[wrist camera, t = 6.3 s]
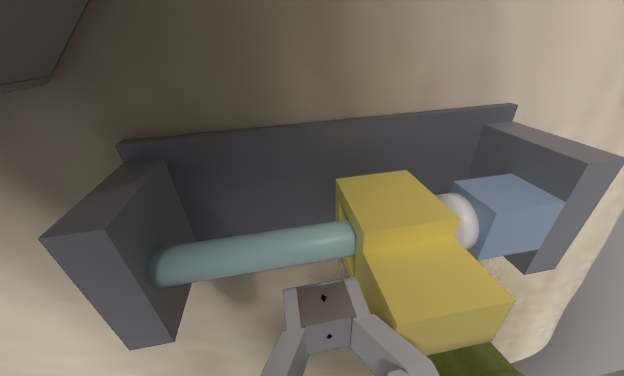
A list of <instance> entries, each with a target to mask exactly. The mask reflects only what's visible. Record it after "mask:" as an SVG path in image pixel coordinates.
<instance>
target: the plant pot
mask: <svg viewBox="0 0 624 376" xmlns="http://www.w3.org/2000/svg"><path fill="white" fill-rule="evenodd" d="M426 357H427V358H429V359H430V360H431V361H432V362H433V364H434V366H435V368H436V370H437V372H438V373H439V375H440V376H524V375H523V374H521V373H519V372H518V371H517V370H515V368H514V367H513V366H512V365H511V364H510V363H509V362H508V361H507V360H506V358H505V357H504V356H503V355H502V354H501V353H500V352H499V351H498V350H497V349H496V348H495V347H494V346H493V344H492V343H491V342H486V343H481V344H477V345H472V346H468V347H463V348H459V349H454V350H450V351H445V352H441V353H436V354H432V355H428V356H426Z"/></svg>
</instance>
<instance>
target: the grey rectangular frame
mask: <svg viewBox="0 0 624 376" xmlns="http://www.w3.org/2000/svg"><path fill="white" fill-rule="evenodd" d="M517 107H518V105H516V104H512V103H506V104H495V105H485V106H475V107H465V108H455V109H444V110H434V111H424V112H414V113H403V114H393V115H383V116H373V117H363V118H352V119H342V120H332V121H322V122H312V123H301V124H291V125H281V126H271V127H260V128H250V129H240V130H230V131H220V132H209V133H199V134H189V135H179V136H168V137H158V138H148V139H138V140H128V141H121V142H119V143H118V144H116V145H115V146H116V148H117V150H118V152H119V154H120V156H121V158H122V160H123V162H124V164H122V165H121V166H120V167H119V168H118V169H117V170H116V171H114V172H113V173H112V174H111V175H110V176H109V177H108V178H106V179H105V180H104V181H103V182H102V183H101V184H100V185H98V186H97V187H96V188H95V189H94V190H93V191H92V192H90V193H89V194H88V195H87V196H86V197H85V198H84V199H82V200H81V201H80V202H79V203H78V204H77V205H76V206H75V207H73V208H72V209H71V210H70V211H69V212H68V213H67V214H65V215H64V216H63V217H62V218H61V219H60V220H59V221H57V222H56V223H55V224H54V225H53V226H52V227H51V228H49V229H48V230H47V231H46V232H45V233H44V234H43V235H41V236H40V237H39V238H38V240H39V241H40V242H41V243H42V245H43V246H44V247H45V248H46V249H47V251H48V252H49V253H50V254H51V256H52V257H53V258H54V259H55V260H56V262H57V263H58V264H59V265H60V266H61V268H62V269H63V270H64V271H65V273H66V274H67V275H68V276H69V277H70V279H71V280H72V281H73V282H74V283H75V285H76V286H77V287H78V288H79V290H80V291H81V292H82V293H83V294H84V296H85V297H86V298H87V299H88V300H89V302H90V303H91V304H92V305H93V307H94V308H95V309H96V310H97V311H98V313H99V314H100V315H101V316H102V317H103V319H104V320H105V321H106V322H107V324H108V325H109V326H110V327H111V328H112V330H113V331H114V332H115V333H116V334H117V336H118V337H119V338H120V339H121V341H122V342H123V343H124V344H125V345H126V347H127V348H128V349H129V350H135V349H140V348H145V347H151V346H156V345H161V344H166V343H171V342H175V338H176V335H177V331H178V328H179V325H180V321H181V318H182V314H183V311H184V308H185V304H186V301H187V297H188V294H189V291H190V287H191V284H192V282H198V281H204V280H210V279H216V278H222V277H228V276H234V275H241V274H247V273H253V272H259V271H265V270H271V269H277V268H283V267H289V266H295V265H301V264H307V263H313V262H319V261H325V260H331V259H337V258H343V257H349V256H355V255H356V238H357V235H356V233H355V231H354V229H353V227H352V225H351V223H350V220H349V219H347V220H340V221H336V179H338V178H346V177H354V176H362V175H370V174H378V173H386V172H394V171H402V170H407V171H408V172H409V173H410V174H412V175H413V176H414V177H415V178H416V179H417V180H418V181H419V182H421V183H422V184H423V185H424V186H425V187H426V188H427V189H428V190H429V191H431V192H432V193H433V194H434V195H435V196H436V197H437V198H438V199H439V200H441V201H442V202H443V203H444V204H445V205H446V206H447V207H448V208H450V209H451V210H452V211H453V212H454V213H455V214H456V215H457V216H458V217H460V221H459V224H458V227H457V230H456V234H455V238H456V239H457V240H458V242H459V243H460V244H461V245H462V246H463V247H464V248H465V249H467V250H468V251H469V252H470V253H471V254H472V255H473V256H474V257H475V258H476V259H477V260H482V259H488V258H493V257H499V256H504V257H505V258H506V259H507V260H508V261H509V262H510V263H511V264H513V265H514V266H515V267H516V268H517V269H518V270H519V271H520V272H522V273H523V274H524V275H526V274H531V273H536V272H542V271H547V270H552V269H555V268H556V266H557V265H558V263H559V262H560V260H561V259H562V257H563V255H564V254H565V252H566V251H567V249H568V248H569V246H570V245H571V243H572V242H573V240H574V239H575V237H576V236H577V234H578V233H579V231H580V230H581V228H582V227H583V225H584V224H585V222H586V221H587V219H588V218H589V216H590V215H591V213H592V212H593V210H594V209H595V207H596V206H597V204H598V203H599V201H600V200H601V198H602V197H603V195H604V193H605V192H606V190H607V189H608V187H609V186H610V184H611V183H612V181H613V180H614V178H615V177H616V175H617V174H618V172H619V171H620V169H621V168H622V166H623V165H624V157H622V156H619V155H616V154H613V153H609V152H606V151H603V150H600V149H597V148H594V147H591V146H588V145H585V144H581V143H578V142H575V141H572V140H569V139H566V138H563V137H560V136H556V135H553V134H550V133H547V132H544V131H541V130H538V129H535V128H532V127H528V126H525V125H522V124H519V123H516V122H513V121H512V120H513V118H514V115H515V112H516V110H517Z"/></svg>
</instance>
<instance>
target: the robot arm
mask: <svg viewBox="0 0 624 376" xmlns="http://www.w3.org/2000/svg"><path fill="white" fill-rule="evenodd" d="M296 290H297V291H296ZM283 299H284V312H285V325H286V331H283V332H282V333H281V335H280V337H279V339H278V341H277V343H276V345H275V347H274V349H273V351H272V353H271V355H270V357H269V359H268V361H267V363H266V365H265V367H264V369H263V371H262V373H261V375H260V376H303V373H304V370H305V367H306V364H307V361H308V358H309V355H310V354H315V353H319V352H323V351H327V350H332V349H338V348H343V347H349V346H351V349H352V350H353V351H354V352H355V353H356V354H357V356H358V357H359V358H360V359H361V360H362V361H363V362H364V364H365V365H366V366H367V367H368V368H369V369H370V370H371V372H372V373H373V374H374V375H375V376H440V375H439V373H438V372H437V370H436V368H435V366H434V364H433V362H432V361H431V360H430V359H429V358H427V357H426V356H425V355H424V354H423V353H421V352H420V351H419V350H418V349H417V348H415V347H414V346H413V345H412V344H411V343H409V342H408V341H407V340H406V339H404V338H403V337H402V336H401V335H400V334H398V333H397V332H396V331H395V330H394V329H392V328H391V327H390V326H389V325H388V324H386V323H385V322H384V321H383V320H381V319H380V318H379V317H378V316H377V315H375V314H371V313H370V311H369V308H368V306H367V303H366V301H365V298H364V296H363V293H362V291H361V288H360V286H359V283H358V281H357V279H356V278H355V277H351V278H346V279H338V280H333V281H328V282H322V283H318V284H313V285H306V286H299V287H293V288H287V289H283ZM600 376H624V370H620V371H616V372H612V373H608V374H604V375H600Z"/></svg>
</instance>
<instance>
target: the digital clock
mask: <svg viewBox="0 0 624 376" xmlns="http://www.w3.org/2000/svg"><path fill="white" fill-rule="evenodd" d="M87 2H88V0H0V93H4V92H9V91H14V90H19V89H24V88H29V87H34V86H38V85H43V84H46V83H47V81H48V79H49V77H50V75H51V73H52V71H53V69H54V67H55V65H56V63H57V61H58V59H59V57H60V55H61V53H62V51H63V50H64V48H65V46H66V44H67V42H68V40H69V38H70V36H71V34H72V32H73V30H74V28H75V26H76V24H77V22H78V20H79V18H80V16H81V14H82V12H83V10H84V8H85V6H86V4H87Z"/></svg>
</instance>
